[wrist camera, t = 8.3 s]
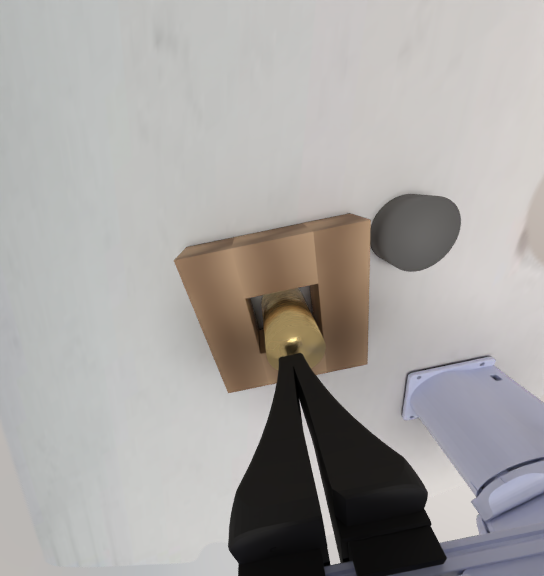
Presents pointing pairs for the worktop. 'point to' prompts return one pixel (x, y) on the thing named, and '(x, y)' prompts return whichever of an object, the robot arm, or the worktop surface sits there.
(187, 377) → the worktop surface
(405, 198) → the flat gray river rock
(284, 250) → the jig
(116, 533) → the worktop surface
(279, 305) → the brass cylinder plug
